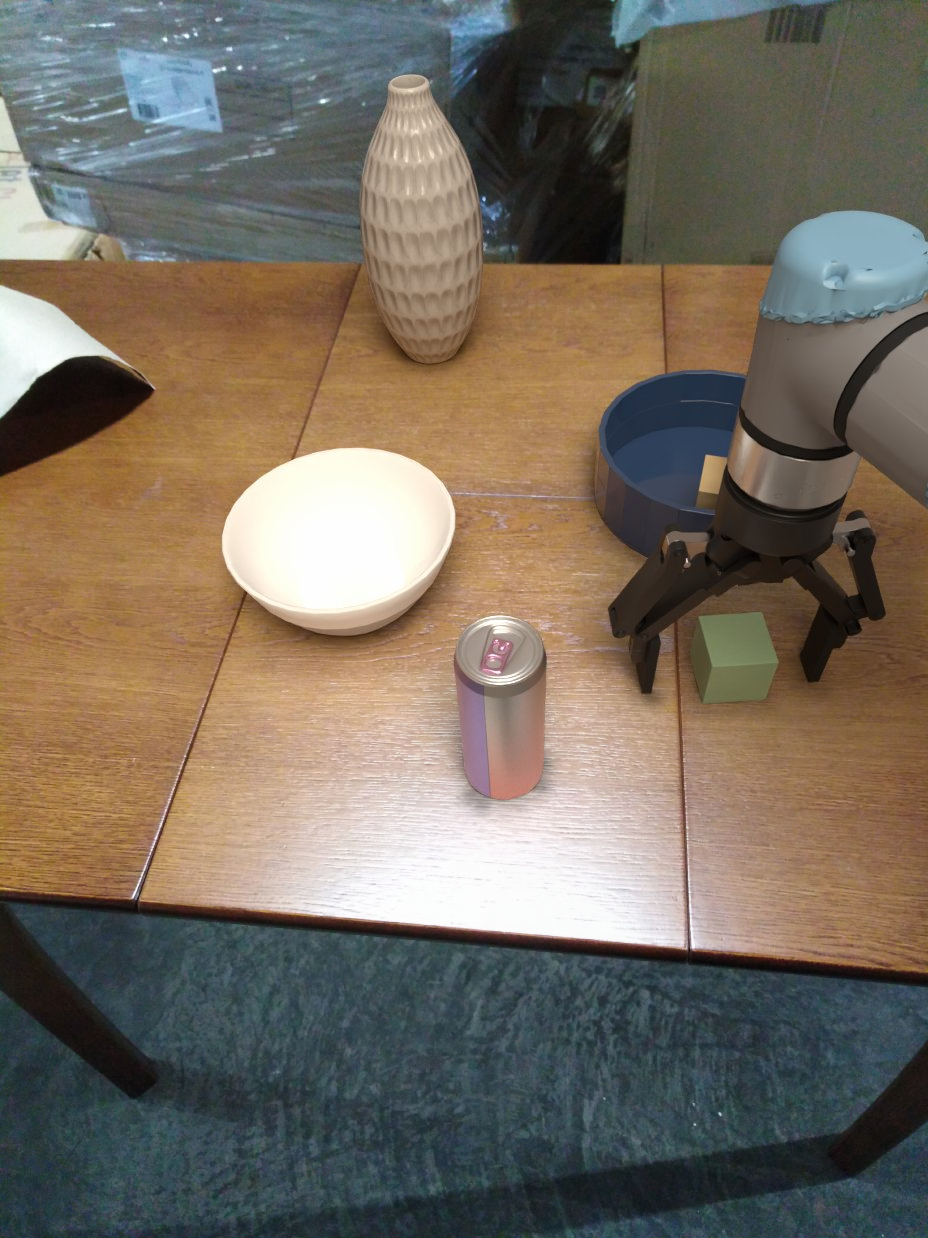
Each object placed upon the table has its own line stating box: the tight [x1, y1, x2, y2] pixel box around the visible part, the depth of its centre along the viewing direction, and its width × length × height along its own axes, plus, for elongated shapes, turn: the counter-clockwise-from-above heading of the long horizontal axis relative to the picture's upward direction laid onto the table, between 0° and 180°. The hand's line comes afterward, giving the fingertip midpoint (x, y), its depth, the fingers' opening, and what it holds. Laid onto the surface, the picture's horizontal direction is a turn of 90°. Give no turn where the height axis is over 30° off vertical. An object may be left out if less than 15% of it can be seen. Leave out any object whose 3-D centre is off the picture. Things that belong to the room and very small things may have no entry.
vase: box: [358, 74, 485, 365], centre depth 93 cm, size 13×13×28 cm
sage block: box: [689, 611, 780, 705], centre depth 70 cm, size 5×5×5 cm
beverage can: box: [453, 614, 548, 800], centre depth 62 cm, size 6×6×15 cm
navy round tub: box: [593, 369, 747, 572], centre depth 83 cm, size 20×20×7 cm
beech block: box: [695, 455, 727, 510], centre depth 81 cm, size 5×5×5 cm
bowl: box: [221, 447, 457, 637], centre depth 77 cm, size 19×20×8 cm
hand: (726, 674), depth 72 cm, fingers open, 13 cm apart
